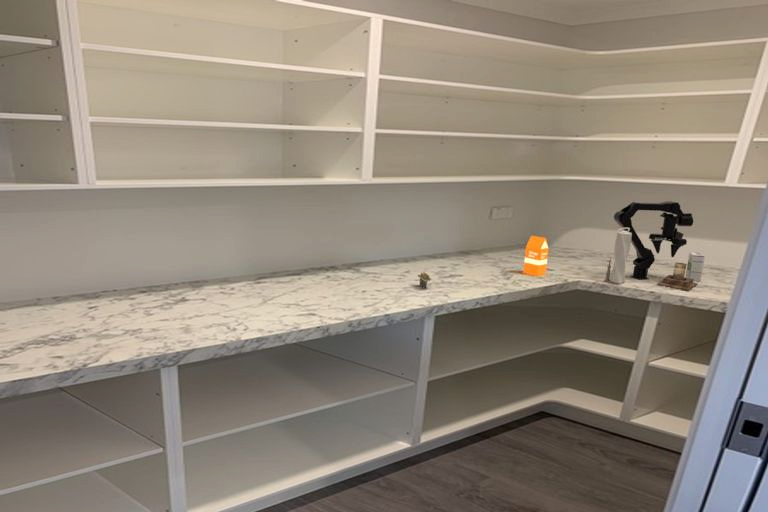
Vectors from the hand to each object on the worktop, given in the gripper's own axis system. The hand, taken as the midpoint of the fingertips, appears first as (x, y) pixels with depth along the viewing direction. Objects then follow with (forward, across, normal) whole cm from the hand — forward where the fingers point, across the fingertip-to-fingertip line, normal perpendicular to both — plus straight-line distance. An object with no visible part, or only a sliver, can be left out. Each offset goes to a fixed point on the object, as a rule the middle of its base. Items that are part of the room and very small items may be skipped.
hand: (665, 255), depth 261 cm
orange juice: (+12, +22, +64) cm, 68 cm away
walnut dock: (+13, -12, +2) cm, 18 cm away
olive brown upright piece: (+11, +9, +133) cm, 133 cm away
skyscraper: (+13, -1, +31) cm, 33 cm away
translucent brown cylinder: (+12, -12, +2) cm, 17 cm away
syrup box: (+14, -5, -16) cm, 22 cm away
